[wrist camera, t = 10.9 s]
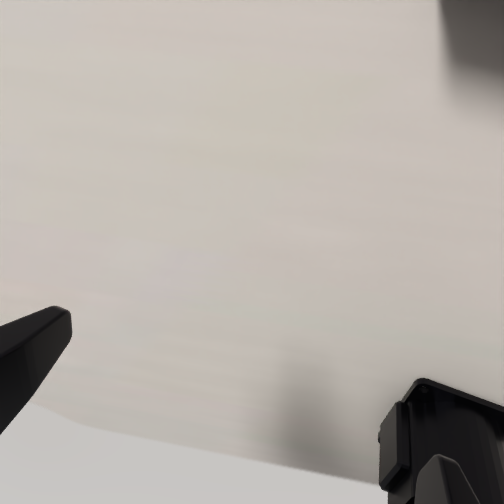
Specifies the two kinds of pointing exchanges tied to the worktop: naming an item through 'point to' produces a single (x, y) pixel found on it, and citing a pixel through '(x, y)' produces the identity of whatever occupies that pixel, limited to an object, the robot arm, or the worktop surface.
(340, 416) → the worktop surface
